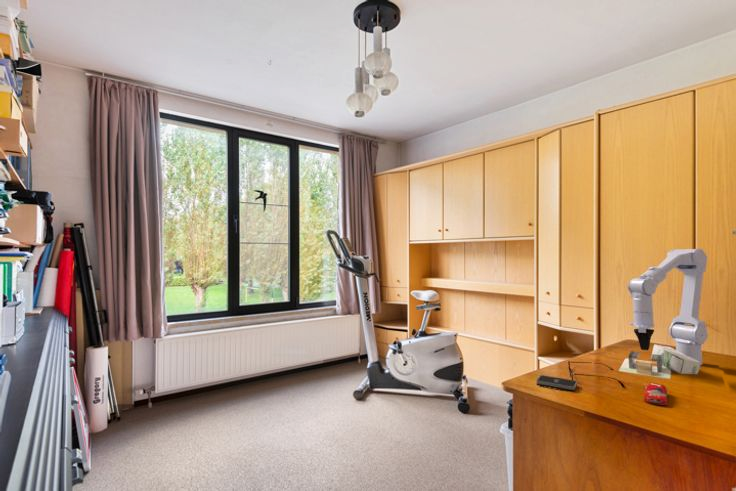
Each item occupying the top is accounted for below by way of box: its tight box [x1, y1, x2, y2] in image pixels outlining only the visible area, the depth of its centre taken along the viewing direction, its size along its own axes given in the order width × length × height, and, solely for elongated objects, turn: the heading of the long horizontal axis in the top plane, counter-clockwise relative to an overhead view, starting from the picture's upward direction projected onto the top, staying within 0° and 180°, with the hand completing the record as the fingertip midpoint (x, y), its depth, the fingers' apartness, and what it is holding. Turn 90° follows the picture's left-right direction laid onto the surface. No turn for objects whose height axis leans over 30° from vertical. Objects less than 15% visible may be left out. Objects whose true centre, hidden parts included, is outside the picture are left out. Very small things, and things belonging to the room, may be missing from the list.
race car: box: [643, 382, 668, 407], centre depth 107 cm, size 13×5×4 cm, turn 139°
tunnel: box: [628, 351, 662, 373], centre depth 132 cm, size 8×9×4 cm
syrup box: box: [650, 344, 701, 375], centre depth 131 cm, size 6×6×14 cm
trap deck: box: [618, 358, 672, 380], centre depth 132 cm, size 20×14×2 cm
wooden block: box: [635, 361, 653, 376], centre depth 127 cm, size 5×4×3 cm
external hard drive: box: [536, 374, 578, 393], centre depth 119 cm, size 7×11×2 cm, turn 53°
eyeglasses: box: [567, 360, 626, 388], centre depth 126 cm, size 16×16×4 cm
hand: (644, 349), depth 132 cm, fingers closed
